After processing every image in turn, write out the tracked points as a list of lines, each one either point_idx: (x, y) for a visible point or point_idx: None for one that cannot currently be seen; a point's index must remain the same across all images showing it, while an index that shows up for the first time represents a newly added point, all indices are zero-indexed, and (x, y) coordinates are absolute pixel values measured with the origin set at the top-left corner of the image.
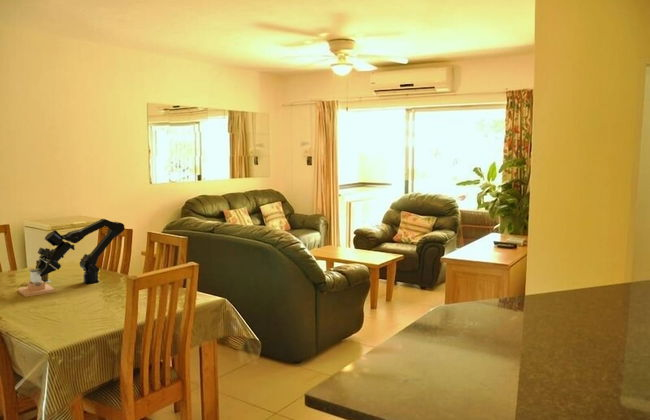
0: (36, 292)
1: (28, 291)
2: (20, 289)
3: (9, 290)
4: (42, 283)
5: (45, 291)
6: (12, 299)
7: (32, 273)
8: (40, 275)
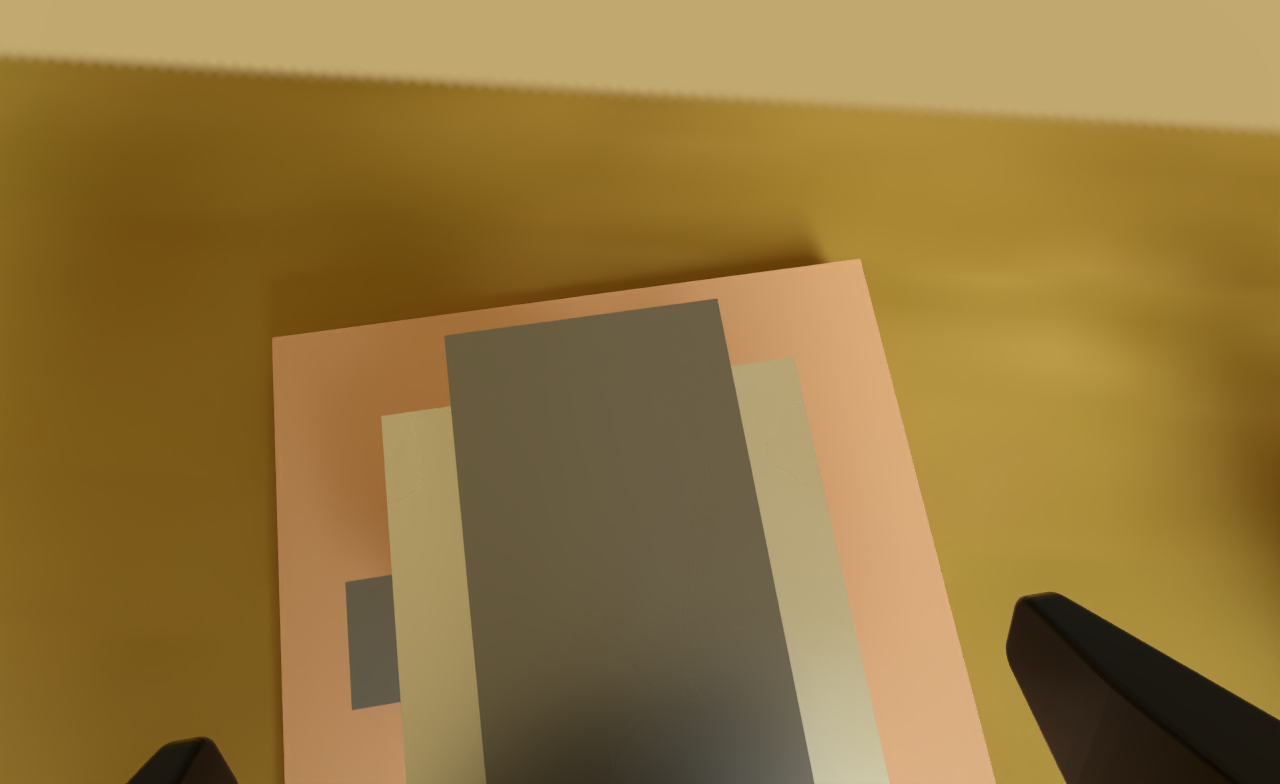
0: (279, 568)
1: None
2: (727, 294)
3: (960, 166)
4: None
5: (291, 778)
6: (268, 164)
7: (400, 433)
8: (162, 775)
